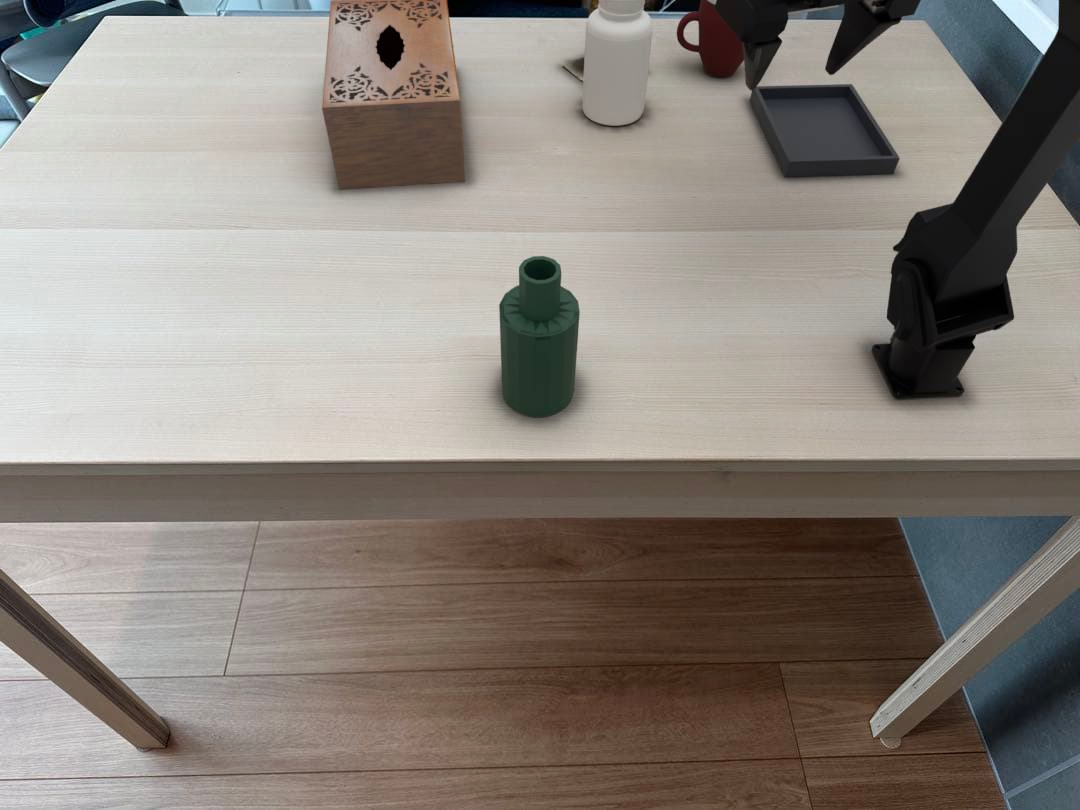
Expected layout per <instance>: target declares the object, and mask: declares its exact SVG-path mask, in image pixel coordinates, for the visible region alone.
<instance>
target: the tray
mask: <svg viewBox="0 0 1080 810" xmlns="http://www.w3.org/2000/svg"><path fill="white" fill-rule="evenodd" d="M749 103H750V106H751V108H752V111H753V112H754V115H755V116H756V119H757V120H758V123H759V124H760V128H761V129H762V131H763V134H764V135H765V138H766V139H767V142H768V144H769V146H770V148H771V150H772V153H773V155H774V157H775V158H776V161H777V163H778V165H779V167H780V170H781V172H782V174H783V176H784V177H785V178H793V177H794V178H795V177H827V176H829V177H831V176H859V175H863V176H864V175H891V174H895V171H896V169H897V166H898V163H899V161H900V159H901V158H900V157H899V154H898V153H897V151H896V150H895V148H894V147H893V145H892V144H891V142H890V141H889V138H887V136H886V135H885V133H884V131H883V130H882V128H881V126H880V125H879V123H878V122H877V121H876V119H875V118H874V115H873V114H872V113H871V111H870V110H869V108H868V106H867V105H866V103H865V102H864V101H863V98H861V95H860V94H859V93H858V91H857V89H856V88H855V86H854V85H853V84H852V83H845V84H844V83H841V84H840V83H839V84H838V83H837V84H835V83H834V84H801V85H800V84H799V85H798V84H797V85H796V84H795V85H757V87H756V88H755V89H754V90H751V93H750V97H749Z"/></svg>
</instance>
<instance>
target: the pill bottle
mask: <svg viewBox="0 0 1080 810" xmlns="http://www.w3.org/2000/svg"><path fill="white" fill-rule="evenodd" d="M645 3H646V0H599V4H598V8H597V9H596V10H594V11H593V12H592V13H591V14H590V16H589V15H588V18H587V20H586V24H585V38H584V78H583V81H582V82H583V83H582V84H583V85H582V99H581V100H582V101H581V103H582V111H583V114H584V115H585V117H586V118H587V119H589V120H591V121H592V122H594V123H597V124H600V125H603V126H611V127H613V126H615V127H616V126H617V127H618V126H625V125H630V124H633V123H634V122H636V121H637V120H639V119H640V118H641V117H642V115H643V113H644V109H645V102H646V94H647V87H648V77H649V67H650V57H651V49H652V48H651V47H652V40H653V33H654V32H653V31H654V25H653V21H652V18H651V16H650V15H649V14H648V13H647V11H645V10H644V9H645Z"/></svg>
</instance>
